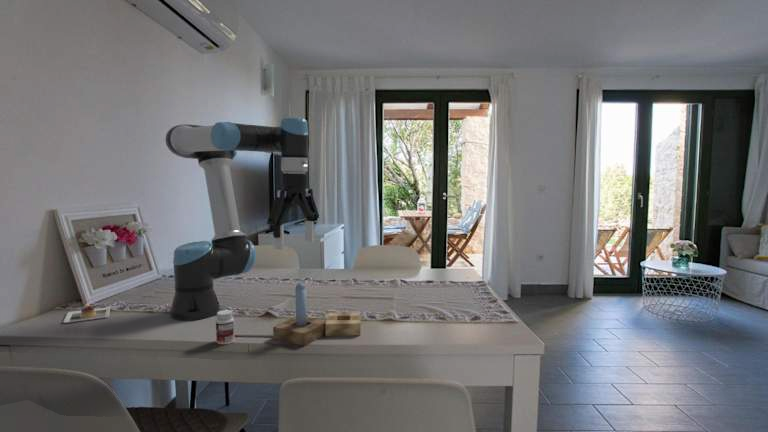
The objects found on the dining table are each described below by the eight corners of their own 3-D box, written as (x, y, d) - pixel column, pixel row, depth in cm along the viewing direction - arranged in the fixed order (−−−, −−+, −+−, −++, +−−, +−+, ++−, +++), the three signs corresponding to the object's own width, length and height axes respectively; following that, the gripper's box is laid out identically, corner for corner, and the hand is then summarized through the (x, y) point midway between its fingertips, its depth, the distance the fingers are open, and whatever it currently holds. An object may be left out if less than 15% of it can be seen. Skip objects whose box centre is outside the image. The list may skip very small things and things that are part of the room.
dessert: (108, 319, 139) (108, 305, 138) (62, 326, 133) (61, 310, 132) (110, 309, 149) (110, 296, 149) (68, 315, 143) (67, 301, 143)
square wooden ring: (273, 338, 121) (273, 326, 121) (298, 326, 131) (297, 315, 131) (304, 346, 116) (304, 333, 116) (328, 332, 126) (328, 321, 126)
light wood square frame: (325, 335, 124) (325, 323, 123) (328, 323, 134) (328, 312, 133) (360, 335, 124) (360, 323, 124) (360, 323, 134) (360, 312, 134)
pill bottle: (219, 338, 122) (218, 309, 121) (236, 338, 122) (235, 309, 121) (214, 345, 117) (213, 315, 116) (232, 344, 117) (231, 314, 116)
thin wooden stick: (220, 336, 123) (220, 334, 123) (222, 335, 124) (221, 333, 124) (277, 337, 123) (277, 335, 123) (278, 336, 123) (278, 334, 123)
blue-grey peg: (294, 336, 123) (293, 283, 122) (301, 333, 126) (300, 281, 124) (302, 338, 122) (301, 284, 120) (309, 335, 124) (308, 282, 123)
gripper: (274, 173, 111) (275, 253, 114) (330, 172, 133) (330, 240, 136) (253, 172, 115) (254, 250, 117) (311, 172, 137) (311, 238, 139)
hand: (294, 245), depth 126 cm, fingers open, 13 cm apart
